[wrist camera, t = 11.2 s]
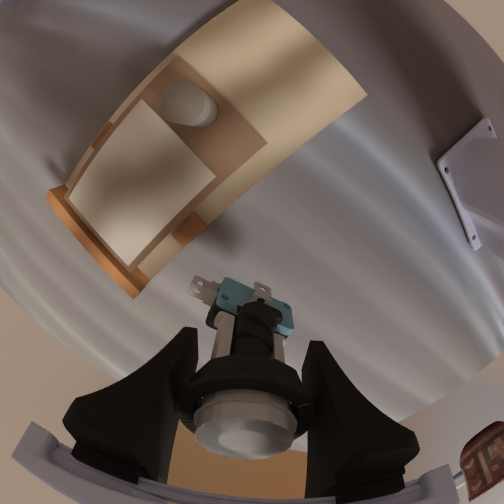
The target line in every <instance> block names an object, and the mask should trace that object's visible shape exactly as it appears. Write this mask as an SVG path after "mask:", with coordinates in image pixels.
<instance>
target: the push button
mask: <svg viewBox="0 0 504 504" xmlns="http://www.w3.org/2000/svg"><path fill="white" fill-rule="evenodd" d="M198 281H201V282H203V286H199V285H197V282H198ZM259 287H262V288H264V289H265V290H266V291H263V290H261V289H260V288H259ZM195 288H197V289H199V290H200V293H199V294H196V293H194V289H195ZM187 292H188V294H190V295H192V296H194V297H197V298H199V299H201V300H203V303H204V304H207V305H209V306H211V308H210V310H209V312H208V315H207V319H206V325H207V326H209V327H210V328H213V329H215V330H217V333H216V338H215V342H214V347H213V351H212V356H211V360H210V361H208V362H207V363H206V364H205V365H204V366H203V367H202V368H201V369H200V370H199V371H197V372H196V373H195V374H194V375H193V376H192V377H191V378H190V380H189V384H188V385H187V386H185V387H184V389H183V390H182V391H181V393H180V395H179V399H178V402H177V414H178V417H179V419H180V420H181V422H182V423H183V424H184V425H185V426H186V428H188V429H189V430H190V431H191V432H193V433H194V434H195V435H196V440H197V441H198V443H199V444H201V445H202V446H203V447H204V448H205V449H207V450H209V451H211V452H214V453H216V454H219V455H221V456H224V457H230V458H236V459H244V460H249V459H264V458H269V457H272V456H275V455H278V454H280V453H282V452H284V451H286V450H287V449H288V448H289V447H291V444H292V442H293V441H294V439H296V438H298V437H300V436H301V435H302V434H304V433H305V432H306V431H307V430H308V429H309V428H310V427H311V425H312V424H313V421H314V419H315V408H314V403H313V400H312V398H311V396H310V395H309V393H308V392H307V391H306V390H305V389H304V387H303V385H302V383H301V381H300V378H299V376H298V374H297V371H296V370H295V369H294V368H292V367H290V366H288V365H287V364H285V359H284V348H283V347H284V346H285V345H286V338H287V337H288V336H289V335H290V333H291V332H292V331H293V329H294V324H293V318H292V310H291V307H290V306H289V305H288V304H286V303H284V302H281V301H278V300H276V299H274V298H272V297H271V289H270V288H269V287H268V286H265V285H263V284H261V283H259V282H255V283H254V289H252V288H250V287H248V286H245V285H243V284H241V283H239V282H237V281H235V280H232V279H230V278H227V277H225V278H224V279H223V281H222V283H221V285H220V284H218V283H216V282H214V281H212V282H209V281H207V280H205V279H203V278H201V277H198V276H194V278H193V281H192V283H191V285H190V287H189V289H188V291H187ZM202 397H203V399H202ZM290 402H291V404H290Z"/></svg>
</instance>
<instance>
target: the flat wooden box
mask: <svg viewBox="0 0 504 504" xmlns="http://www.w3.org/2000/svg"><path fill="white" fill-rule="evenodd" d="M178 55H179V56H180V57H181V58H182V59H184V60H185V61H186V62H187V63H188V64H189V65H190V66H191V67H192V68H194V69H195V70H196V71H197V72H198V73H199V74H200V75H201V76H202V77H203V78H204V79H205V80H206V81H208V82H209V83H210V84H211V85H212V86H213V87H214V88H215V89H216V90H217V91H218V92H219V93H220V94H221V95H222V96H223V97H224V98H225V99H226V100H227V101H228V102H229V103H230V104H231V105H232V106H233V107H234V108H235V109H236V110H237V111H238V112H239V113H240V114H241V115H242V116H243V117H244V118H245V119H246V120H247V121H248V122H249V124H250V125H251V126H252V127H253V128H254V129H255V130H256V131H257V132H258V133H259V134H260V135H261V136H262V137H263V139H264V140H265V141H266V142H267V144H266V145H265V146H264V147H262V148H261V149H260V150H259V151H258V152H256V153H255V154H254V155H253V156H252V157H251V158H249V159H248V160H247V161H246V162H245V163H244V164H243V165H241V166H240V167H239V168H238V169H237V170H236V171H235V172H233V173H232V174H231V175H230V176H229V177H228V178H227V179H226V180H225V181H223V182H222V183H221V184H220V185H219V186H218V187H217V188H216V189H215V190H214V191H213V192H211V193H210V194H209V195H208V196H207V197H206V198H205V199H204V200H203V201H202V202H201V203H200V204H199V205H198V206H197V207H196V208H195V209H193V210H192V211H191V212H190V213H189V214H188V215H187V216H186V217H185V218H184V219H183V220H182V221H181V222H180V223H179V224H178V225H177V226H176V227H175V228H174V229H173V230H172V231H171V232H170V233H169V234H168V235H167V236H166V237H165V238H164V239H163V240H162V241H161V242H160V243H159V244H158V245H157V246H156V247H155V248H154V249H153V250H152V252H151V253H150V254H149V255H148V256H147V257H146V258H145V259H144V260H143V261H142V262H141V263H140V264H139V265H138V266H137V267H136V268H135V269H134V271H133V272H132V273H131V274H130V273H129V272H128V271H127V270H126V268H125V267H124V266H123V265H122V264H121V263H120V262H119V261H118V260H117V259H116V258H115V257H114V256H113V255H112V254H111V253H110V251H109V250H108V249H107V248H106V247H105V246H104V245H103V244H102V243H101V242H100V240H99V239H98V238H97V237H96V236H95V235H94V234H93V232H92V231H91V230H90V229H89V228H88V227H87V226H86V224H85V223H84V222H83V221H82V220H81V218H80V217H79V216H78V215H77V214H76V212H75V211H74V210H73V209H72V207H71V206H70V205H69V204H68V202H67V201H66V200H65V199H64V196H65V195H66V193H67V191H68V189H69V188H70V186H71V184H72V183H73V181H74V179H75V178H76V176H77V175H78V173H79V172H80V170H81V168H82V167H83V165H84V164H85V162H86V161H87V159H88V158H89V156H90V155H91V154H92V152H93V151H94V149H95V148H96V147H97V145H98V144H99V142H100V141H101V140H102V138H103V137H104V136H105V134H106V133H107V132H108V130H109V129H110V128H111V127H112V125H113V124H114V123H115V121H116V120H117V119H118V118H119V117H120V115H121V114H122V113H123V112H124V111H125V109H126V108H127V107H128V106H129V105H130V104H131V102H132V101H133V100H134V99H135V98H136V97H137V96H138V95H139V94H140V92H141V91H142V90H143V89H144V88H145V87H146V86H147V85H148V84H149V83H150V82H151V81H152V80H153V79H154V78H155V77H156V76H157V75H158V74H159V73H160V72H161V71H162V70H163V69H164V68H165V67H166V66H167V65H168V64H169V63H170V62H171V61H172V60H173V59H174V58H176V57H177V56H178ZM366 96H367V94H366V92H365V91H364V90H363V89H362V87H361V86H360V85H359V84H358V83H357V81H356V80H355V79H354V78H353V77H352V76H351V74H350V73H349V72H348V71H347V70H346V69H345V68H344V67H343V66H342V64H341V63H340V62H339V61H338V60H337V59H336V58H335V57H334V56H333V55H332V54H331V53H330V52H329V51H328V50H327V49H326V48H325V47H324V46H323V45H322V44H321V43H320V42H319V41H318V40H317V39H316V38H315V37H314V36H313V35H312V34H311V33H310V32H309V31H308V30H306V29H305V28H304V27H303V26H302V25H301V24H300V23H299V22H297V21H296V20H295V19H294V18H293V17H292V16H290V15H289V14H288V13H287V12H285V11H284V10H283V9H282V8H281V7H279V6H278V5H277V4H275V3H274V2H273V1H271V0H239V1H237V2H236V3H234V4H233V5H231V6H230V7H228V8H227V9H225V10H224V11H222V12H221V13H220V14H218V15H217V16H215V17H214V18H213V19H211V20H210V21H209V22H207V23H206V24H205V25H203V26H202V27H201V28H200V29H198V30H197V31H196V32H195V33H193V34H192V35H191V36H190V37H189V38H187V39H186V40H185V41H184V42H183V43H181V44H180V45H179V46H178V47H177V48H176V49H175V50H174V51H172V52H171V53H170V54H169V55H168V56H167V57H166V58H165V59H164V60H163V61H162V62H161V63H160V64H159V65H158V66H157V67H156V68H155V69H154V70H153V71H152V72H151V73H150V74H149V75H148V76H147V77H146V78H145V79H144V80H143V81H142V82H141V83H140V84H139V85H138V86H137V87H136V88H135V90H134V91H133V92H132V93H131V94H130V95H129V96H128V97H127V99H126V100H125V101H124V102H123V103H122V104H121V106H120V107H119V108H118V109H117V110H116V112H115V113H114V114H113V115H112V117H111V118H110V119H109V120H108V122H107V123H106V124H105V126H104V127H103V128H102V130H101V131H100V132H99V134H98V135H97V136H96V138H95V139H94V140H93V142H92V143H91V145H90V146H89V148H88V149H87V151H86V152H85V154H84V155H83V157H82V158H81V160H80V161H79V163H78V164H77V166H76V167H75V169H74V171H73V172H72V174H71V175H70V177H69V179H68V180H67V182H66V184H65V185H62V186H59V187H56V188H53V189H50V190H49V192H48V194H47V196H46V198H45V199H46V200H47V202H48V203H49V205H50V206H51V207H52V208H53V210H54V211H55V212H56V214H57V215H58V216H59V218H60V219H61V220H62V221H63V223H64V224H65V225H66V226H67V228H68V229H69V230H70V231H71V232H72V234H73V235H74V236H75V237H76V238H77V240H78V241H79V242H80V243H81V244H82V245H83V247H84V248H85V249H86V250H87V251H88V252H89V253H90V255H91V256H92V257H93V258H94V259H95V260H96V261H97V262H98V263H99V265H100V266H101V267H102V268H103V269H104V270H105V271H106V272H107V273H108V274H109V275H110V276H111V277H112V278H113V279H114V280H115V281H116V282H117V283H118V285H119V286H120V287H121V288H122V289H123V290H124V291H125V292H126V293H127V294H128V295H129V296H131V297H132V298H133V299H135V298H136V297H137V296H138V295H139V294H140V293H141V291H142V290H143V289H144V287H145V286H146V285H147V284H148V282H149V281H150V280H151V279H152V278H153V277H154V276H155V275H156V274H157V273H158V272H159V271H160V270H161V269H162V268H163V267H164V266H165V265H166V264H167V263H168V262H169V261H171V260H172V259H173V258H174V257H175V256H176V255H177V254H178V253H179V252H180V251H181V250H182V249H183V248H184V247H185V246H186V245H187V244H189V243H190V242H191V241H192V240H193V239H194V238H195V237H196V236H197V235H198V234H199V233H200V232H202V231H203V230H204V229H205V228H206V227H207V226H208V225H209V224H210V223H211V222H213V221H214V220H215V219H216V218H217V217H218V216H219V215H220V214H221V213H223V212H224V211H225V210H226V209H227V208H228V207H229V206H231V205H232V204H233V203H234V202H235V201H236V200H237V199H238V198H240V197H241V196H242V195H243V194H244V193H245V192H247V191H248V190H249V189H250V188H251V187H252V186H254V185H255V184H256V183H257V182H258V181H259V180H261V179H262V178H263V177H264V176H265V175H267V174H268V173H269V172H270V171H271V170H273V169H274V168H275V167H276V166H277V165H279V164H280V163H281V162H282V161H283V160H285V159H286V158H287V157H288V156H290V155H291V154H292V153H293V152H294V151H296V150H297V149H298V148H299V147H301V146H302V145H303V144H304V143H306V142H307V141H308V140H309V139H311V138H312V137H313V136H314V135H316V134H317V133H318V132H320V131H321V130H322V129H323V128H325V127H326V126H327V125H329V124H330V123H331V122H333V121H334V120H335V119H336V118H338V117H339V116H340V115H342V114H343V113H344V112H346V111H347V110H348V109H350V108H351V107H352V106H354V105H355V104H356V103H358V102H359V101H361V100H362V99H363V98H365V97H366Z"/></svg>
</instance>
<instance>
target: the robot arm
mask: <svg viewBox="0 0 504 504" xmlns="http://www.w3.org/2000/svg"><path fill="white" fill-rule="evenodd" d="M488 127H489V129H488ZM437 166H438V169H439V171H440V173H441V175H442V177H443V179H444V181H445V183H446V185H447V187H448V189H449V192H450V194H451V196H452V198H453V201H454V203H455V205H456V208H457V210H458V213H459V215H460V218H461V220H462V223H463V225H464V228H465V231H466V234H467V237H468V239H469V242H470V245H471V248H472V249H473V250H474V251H476V250H478V249H479V248H480V247H481V246H483V247H484V248H486V249H487V250H489V251H490V252H492V253H493V254H495V255H496V256H497V257H499V258H500V259H502V260H503V261H504V139H501V138H497V136H496V134H495V131H494V129H493V127H492V125H491V122H490V120H489V119H488V118H483V119H482V120H481V121H480V122H478V123H477V124H476V125H475V126H474V127H473V128H472V129H471V130H470V131H469V132H468V133H467V134H466V135H465V136H464V137H463V138H461V139H460V140H459V141H458V142H457V143H456V144H455V145H454V146H453V147H452V148H451V149H449V150H448V151H447V152H446V153H445V154H444V155H443V156H442V157H440V158H439V159H438V161H437ZM445 167H446V169H447V170H446V172H445V171H444V169H445ZM473 235H474V236H473ZM472 237H473V238H472ZM198 359H199V358H198V335H197V328H191V327H183V328H182V329H181V330H180V332H179V333H178V334H177V335H176V336H175V337H174V338H173V339H172V340H171V341H170V342H169V343H168V344H167V345H166V346H165V347H164V348H163V349H162V350H161V351H160V352H159V353H157V354H156V355H155V356H154V357H153V358H152V359H150V360H149V361H148V362H147V363H146V364H144V365H143V366H142V367H140V368H139V369H138V370H136V371H135V372H133V373H132V374H130V375H128V376H127V377H125V378H123V379H122V380H120V381H118V382H116V383H114V384H112V385H110V386H109V387H106V388H104V389H101V390H99V391H96V392H94V393H91V394H88V395H84V396H81V397H78V398H76V399H75V400H74V401H73V402H72V404H71V406H70V407H69V409H68V411H67V412H66V414H65V416H64V418H63V419H62V420H63V424H64V426H65V428H66V429H67V430H68V432H69V433H70V434H71V435H72V437H73V438H74V439H75V440H76V441H77V442H76V444H75V446H74V448H73V449H71V448H70V447H68V446H66V445H64V444H62V443H60V442H58V440H57V438H56V437H55V436H54V435H53V434H51V433H50V432H49V431H47V430H46V429H44V428H42V427H41V426H39V425H37V424H36V423H34V422H31V423H30V425H29V426H28V428H27V430H26V431H25V433H24V435H23V436H22V438H21V440H20V441H19V443H18V445H17V447H16V449H15V450H14V452H13V454H12V458H13V459H14V460H15V461H16V462H18V463H19V464H20V465H21V466H22V467H24V468H25V469H26V470H27V471H29V472H30V473H31V474H33V475H34V476H35V477H37V478H38V479H39V480H41V481H42V482H44V483H45V484H47V485H49V486H50V487H52V488H53V489H55V490H57V491H58V492H60V493H62V494H63V495H65V496H67V497H69V498H70V499H72V500H74V501H76V502H78V503H80V504H168V502H167V501H170V502H175V503H178V504H459V502H460V500H459V497H458V493H457V489H456V486H455V483H454V479H453V476H452V473H451V470H450V467H449V465H448V464H447V465H444V466H441V467H439V468H436V469H433V470H431V471H428V472H427V473H425V474H423V475H422V476H421V477H420V478H419V479H416V480H412V481H409V482H405V483H404V479H403V474H405V468H404V466H405V465H406V464H407V463H409V462H410V461H411V460H412V459H413V458H415V457H416V455H417V454H418V453H419V451H420V447H419V444H418V441H417V438H416V436H415V433H414V432H413V431H411V430H409V429H407V428H406V427H404V426H402V425H400V424H398V423H397V422H395V421H394V420H392V419H391V418H389V417H388V416H387V415H385V414H384V413H383V412H381V411H380V410H379V409H378V408H376V407H375V406H374V405H373V404H372V403H371V402H369V401H368V400H367V399H366V398H365V397H364V396H363V395H362V394H361V393H360V392H359V391H358V389H357V388H356V387H355V386H354V385H353V384H352V382H351V381H350V380H349V379H348V377H347V376H346V375H345V373H344V372H343V371H342V369H341V368H340V366H339V365H338V364H337V362H336V361H335V359H334V358H333V356H332V355H331V353H330V351H329V350H328V348H327V347H326V345H325V343H324V342H323V341H312V340H310V343H309V347H308V350H307V353H306V357H305V360H304V363H303V367H302V385H303V387H304V389H305V390H306V391H307V392H308V393H309V395H310V396H311V398H312V400H313V403H314V408H315V419H314V421H313V424H312V425H311V427H310V428H309V429H308V430H307V431H308V455H307V477H306V478H307V479H306V488H305V497H304V499H260V498H245V497H234V496H225V495H218V494H211V493H205V492H199V491H193V490H189V489H184V488H179V487H175V486H171V485H167V478H168V472H169V465H170V460H171V454H172V449H173V444H174V439H175V434H176V430H177V426H178V422H179V417H178V414H177V402H178V399H179V395H180V393H181V391H182V390H183V389H184V387H185V386H187V385H188V384H189V380H190V378H191V377H192V376H193V375H194V374H195V372H196V368H197V363H198ZM165 500H166V501H165Z"/></svg>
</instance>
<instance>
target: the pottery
mask: <svg viewBox="0 0 504 504" xmlns="http://www.w3.org/2000/svg"><path fill="white" fill-rule="evenodd" d="M460 467H461V470H462V473H463V475H464V478H465V481H466V485H467V490H468V497H469V502H471V501H473V500H475V499H477V498H478V497H480V496H481V495H483V494H485V493H486V492H488V491H489V490H491V489H492V488H494V487H495V486H497V485H498V484H500V483H501V482H502V481H504V422H502V421H496V422H494V423H492V424H490V425H489V426H487V427H486V428H484V429H483V430H482V431H480V432H479V433H478V434H476V435H475V436H474V437H473V438H472V439H471V440H470V441H469V442H468V443H467V444H466V445H465V446H464V448H463V450H462V453H461V456H460Z"/></svg>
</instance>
